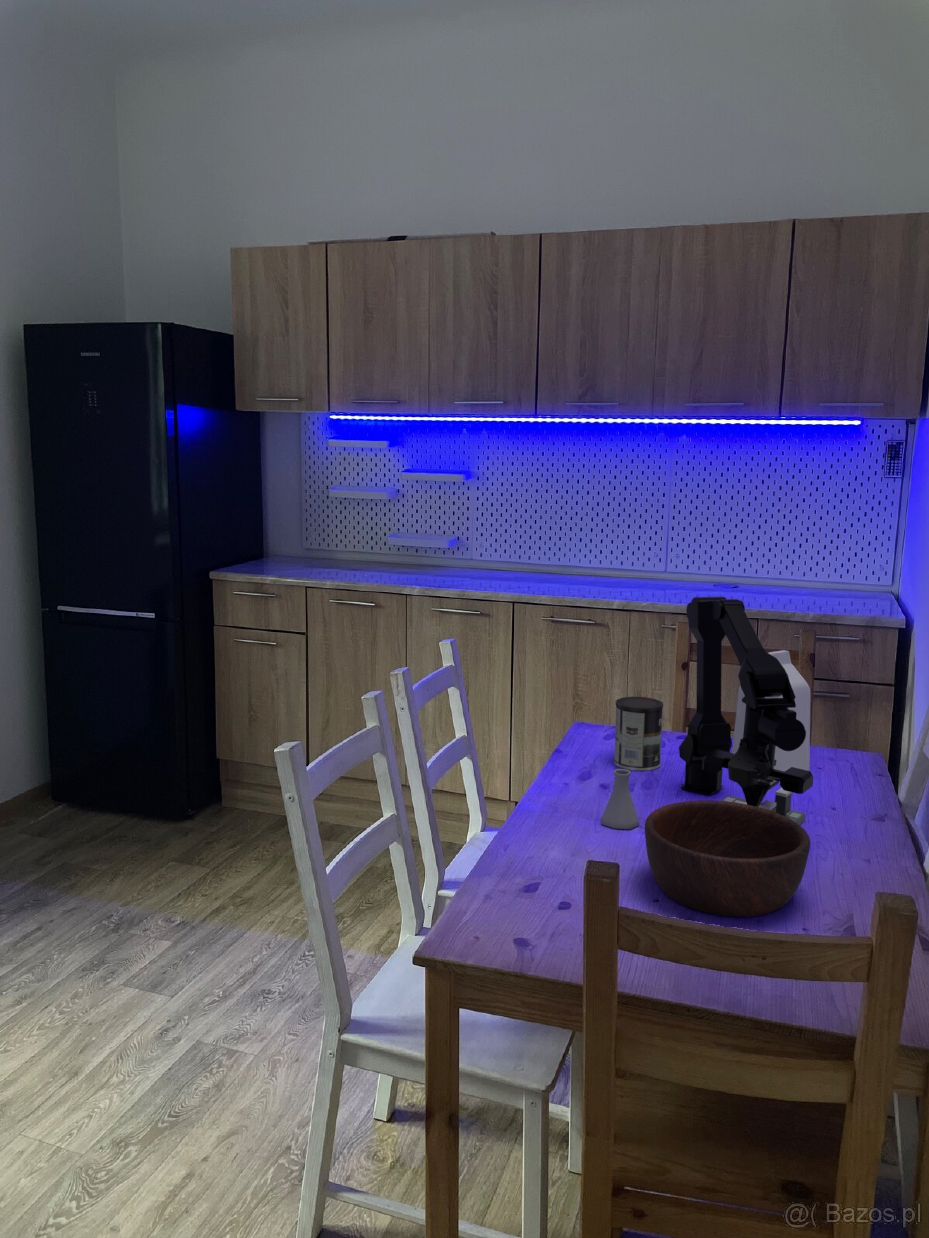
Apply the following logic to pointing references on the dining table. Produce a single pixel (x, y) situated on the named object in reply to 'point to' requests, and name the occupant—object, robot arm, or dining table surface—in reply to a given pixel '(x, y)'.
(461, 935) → the dining table surface
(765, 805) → the block
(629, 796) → the flask
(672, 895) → the wooden bowl
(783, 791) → the breaker far
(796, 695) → the milk
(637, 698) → the coffee can
